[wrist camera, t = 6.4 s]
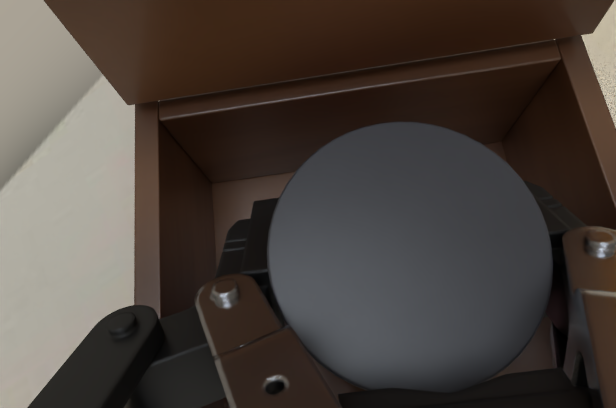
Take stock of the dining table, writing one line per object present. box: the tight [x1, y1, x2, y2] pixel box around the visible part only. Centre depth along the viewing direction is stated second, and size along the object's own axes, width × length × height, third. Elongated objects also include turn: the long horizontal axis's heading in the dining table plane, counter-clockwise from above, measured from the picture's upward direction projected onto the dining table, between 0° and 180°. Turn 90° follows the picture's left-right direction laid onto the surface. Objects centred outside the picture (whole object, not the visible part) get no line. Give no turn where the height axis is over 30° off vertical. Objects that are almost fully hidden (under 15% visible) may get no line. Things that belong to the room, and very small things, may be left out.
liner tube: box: [267, 122, 553, 393], centre depth 13 cm, size 5×5×10 cm
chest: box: [134, 35, 616, 408], centre depth 16 cm, size 14×15×7 cm
